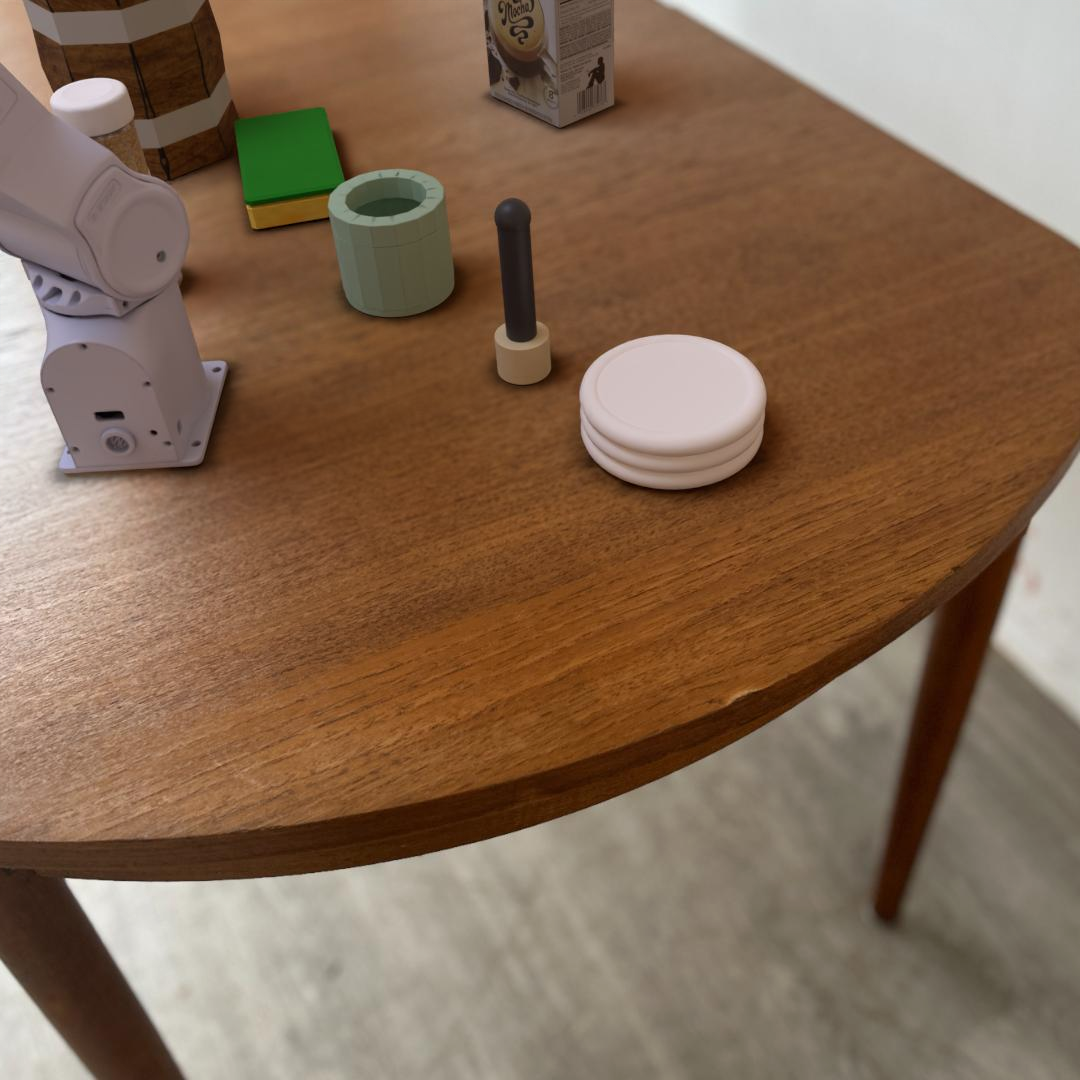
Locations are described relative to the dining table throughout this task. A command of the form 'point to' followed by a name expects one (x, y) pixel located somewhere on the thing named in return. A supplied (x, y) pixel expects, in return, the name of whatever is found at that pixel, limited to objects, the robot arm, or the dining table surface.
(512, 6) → the coffee box
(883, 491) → the dining table surface
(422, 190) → the jar
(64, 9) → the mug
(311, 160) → the dish sponge
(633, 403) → the white stacked discs
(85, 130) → the sprinkles bottle
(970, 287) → the dining table surface
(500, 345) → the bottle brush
